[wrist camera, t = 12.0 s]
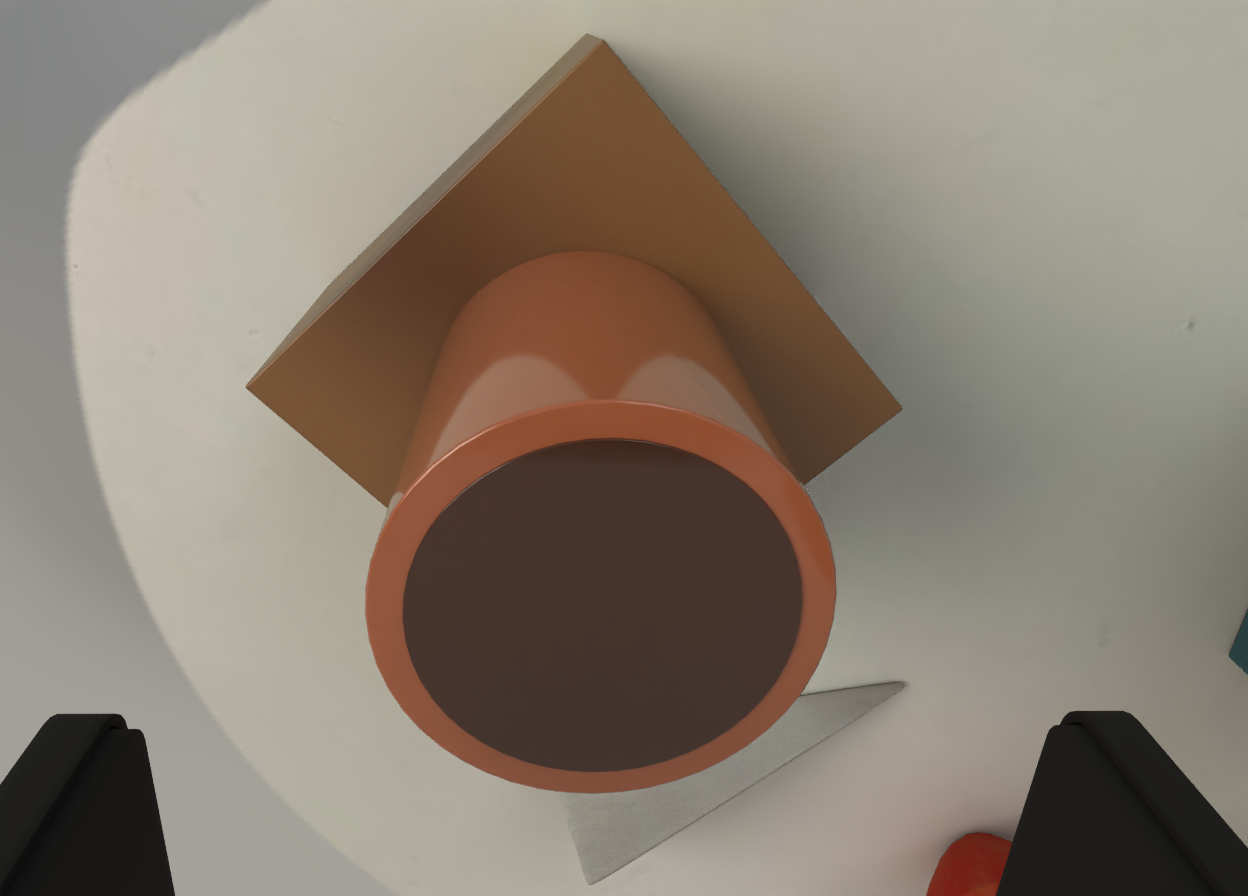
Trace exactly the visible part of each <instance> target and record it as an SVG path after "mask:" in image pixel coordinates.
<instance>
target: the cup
mask: <svg viewBox="0 0 1248 896" xmlns="http://www.w3.org/2000/svg"><path fill="white" fill-rule="evenodd" d="M835 602H836V569H835V563H834V558H833V553H832V548H831V543H830V540H829V538H828V535H827V532H826V530H825V527H824V524H823V521H822V519H821V517H820V515H819V513H818V511H817V509H816V508H815V506H814V504H813V502H812V500H811V498H810V496H809V495H808V493H807V491H806V489H805V487H804V485H803V484H802V482H801V480H800V478H799V476H798V474H797V473H796V471H795V469H794V467H793V465H792V463H791V461H790V460H789V458H788V456H787V454H786V452H785V450H784V449H783V447H782V445H781V443H780V441H779V439H778V438H777V436H776V434H775V432H774V430H773V428H772V426H771V425H770V423H769V421H768V419H767V417H766V415H765V414H764V412H763V410H762V408H761V406H760V404H759V403H758V401H757V399H756V397H755V395H754V393H753V391H752V390H751V388H750V386H749V384H748V382H747V380H746V379H745V377H744V375H743V373H742V371H741V369H740V367H739V366H738V364H737V362H736V360H735V358H734V356H733V355H732V353H731V351H730V349H729V347H728V345H727V344H726V342H725V340H724V338H723V336H722V334H721V333H720V331H719V329H718V327H717V325H716V324H715V322H714V320H713V318H712V317H711V315H710V314H709V313H708V311H707V310H706V309H705V307H704V306H703V305H702V303H701V302H700V301H699V300H698V299H697V298H696V297H695V296H694V295H693V294H692V293H691V292H690V291H689V290H688V289H687V288H686V287H685V286H683V285H682V284H681V283H679V282H678V281H677V280H675V279H674V278H673V277H671V276H670V275H668V274H666V273H665V272H663V271H661V270H659V269H657V268H656V267H654V266H652V265H649V264H647V263H644V262H642V261H639V260H637V259H634V258H631V257H627V256H623V255H619V254H615V253H607V252H598V251H570V252H563V253H556V254H550V255H547V256H543V257H540V258H536V259H533V260H530V261H527V262H525V263H523V264H520V265H518V266H516V267H513V268H511V269H510V270H508V271H506V272H505V273H503V274H501V275H500V276H498V277H496V278H495V279H493V280H492V281H491V282H490V283H488V284H487V285H486V286H485V287H483V288H482V289H481V290H480V291H478V292H477V293H476V294H475V295H474V297H473V298H472V299H471V300H470V301H469V302H468V303H467V304H466V305H465V306H464V307H463V309H462V310H461V312H460V313H459V314H458V316H457V317H456V319H455V320H454V322H453V323H452V325H451V327H450V329H449V331H448V333H447V335H446V337H445V339H444V341H443V344H442V347H441V350H440V352H439V355H438V358H437V361H436V364H435V367H434V370H433V373H432V376H431V379H430V382H429V385H428V388H427V391H426V394H425V397H424V401H423V404H422V407H421V410H420V413H419V416H418V419H417V422H416V425H415V428H414V431H413V434H412V437H411V440H410V443H409V446H408V449H407V452H406V455H405V458H404V461H403V464H402V467H401V470H400V473H399V476H398V479H397V482H396V485H395V488H394V491H393V494H392V497H391V500H390V503H389V506H388V509H387V512H386V515H385V518H384V521H383V524H382V527H381V530H380V533H379V537H378V540H377V543H376V546H375V549H374V552H373V555H372V558H371V561H370V566H369V572H368V577H367V583H366V598H365V616H366V623H367V630H368V637H369V641H370V645H371V648H372V651H373V654H374V658H375V661H376V664H377V666H378V668H379V671H380V673H381V675H382V677H383V679H384V681H385V683H386V685H387V687H388V689H389V690H390V692H391V693H392V695H393V696H394V698H395V699H396V701H397V702H398V704H399V705H400V707H401V708H402V710H403V711H404V712H405V713H406V714H407V715H408V716H409V717H410V718H411V720H412V721H413V722H414V723H415V724H416V725H417V726H418V727H419V728H420V729H421V730H422V731H423V732H424V733H425V734H426V735H428V736H429V737H430V738H431V739H432V740H434V741H435V742H436V743H437V744H438V745H439V746H441V747H442V748H444V749H445V750H447V751H448V752H450V753H451V754H453V755H454V756H456V757H457V758H459V759H461V760H462V761H464V762H466V763H468V764H470V765H472V766H474V767H476V768H478V769H480V770H482V771H484V772H486V773H489V774H491V775H494V776H497V777H499V778H502V779H505V780H508V781H510V782H514V783H518V784H522V785H526V786H530V787H534V788H538V789H544V790H551V791H558V792H565V793H586V794H598V793H616V792H626V791H632V790H639V789H645V788H650V787H654V786H658V785H662V784H666V783H670V782H674V781H677V780H679V779H682V778H685V777H688V776H690V775H693V774H696V773H699V772H701V771H703V770H705V769H707V768H709V767H711V766H713V765H716V764H718V763H720V762H722V761H724V760H726V759H727V758H729V757H730V756H732V755H734V754H735V753H737V752H738V751H740V750H742V749H743V748H745V747H746V746H748V745H749V744H751V743H752V742H753V741H754V740H756V739H757V738H758V737H759V736H761V735H762V734H763V733H765V732H766V731H767V730H768V729H769V728H770V727H771V726H772V725H773V724H774V723H776V722H777V721H778V720H779V719H780V718H781V717H782V716H783V715H784V714H785V713H786V712H787V711H788V709H789V708H790V707H791V706H792V704H793V703H794V702H795V700H796V699H797V698H798V697H799V695H800V694H801V693H802V692H803V690H804V689H805V687H806V685H807V684H808V682H809V680H810V679H811V677H812V675H813V674H814V672H815V670H816V669H817V666H818V664H819V662H820V659H821V657H822V655H823V652H824V650H825V648H826V645H827V642H828V638H829V635H830V631H831V627H832V623H833V619H834V611H835Z"/></svg>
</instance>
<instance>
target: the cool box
mask: <svg viewBox="0 0 1248 896" xmlns="http://www.w3.org/2000/svg"><path fill="white" fill-rule="evenodd" d="M1229 657H1230V658H1231V659H1232V660H1233V661H1234V662H1235V663H1236V664H1237V665H1238V666H1239V667H1240V668H1242V669H1243V671H1244V672H1245V673H1246V674H1247V675H1248V611H1247V613H1246V616H1245V618H1244V620H1243V623H1242V625H1241V628H1240V630H1239V632H1238V635H1237V637H1236V640H1235V642H1234V644H1233V647H1232V649H1231V652H1230V654H1229Z"/></svg>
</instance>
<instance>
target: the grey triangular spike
mask: <svg viewBox="0 0 1248 896" xmlns="http://www.w3.org/2000/svg"><path fill="white" fill-rule="evenodd" d="M904 686H905V685H904V684H903V683H900V682H897V683H888V684H880V685H872V686H865V687H858V688H851V689H844V690H837V691H830V692H823V693H816V694H810V695H803V696H799V697H798V698H797V699H796V700H795V702H794V703H793V704H792V706H791V707H790V708H789V709H788V711H787V712H786V713H785V714H784V715H783V716H782V717H781V718H780V719H779V720H778V721H777V722H776V723H774V724H773V725H772V726H771V727H770V728H769V729H768V730H767V731H766V732H765V733H763V734H762V735H761V736H759V737H758V738H757V739H756V740H754V741H753V742H752V743H751V744H749V745H748V746H746V747H745V748H743V749H742V750H740V751H738V752H737V753H735V754H734V755H732V756H730V757H729V758H727V759H726V760H724V761H722V762H720V763H718V764H716V765H713V766H711V767H709V768H707V769H705V770H703V771H701V772H699V773H696V774H693V775H690V776H688V777H685V778H682V779H679V780H677V781H674V782H670V783H666V784H662V785H658V786H654V787H650V788H645V789H639V790H632V791H626V792H616V793H598V794H586V793H565V792H559V795H560V798H561V801H562V804H563V807H564V811H565V814H566V817H567V820H568V824H569V827H570V830H571V833H572V837H573V840H574V843H575V846H576V850H577V853H578V856H579V859H580V862H581V866H582V869H583V872H584V875H585V878H586V881H587V883H588V884H589V885H592V884H594V883H597V882H598V881H600V880H602V879H604V878H606V877H607V876H609V875H611V874H612V873H614V872H616V871H617V870H619V869H621V868H622V867H624V866H625V865H627V864H629V863H630V862H632V861H633V860H635V859H637V858H638V857H640V856H642V855H643V854H645V853H646V852H648V851H650V850H651V849H653V848H654V847H656V846H657V845H659V844H661V843H662V842H664V841H665V840H667V839H669V838H670V837H672V836H673V835H675V834H676V833H678V832H680V831H681V830H683V829H684V828H686V827H688V826H689V825H691V824H692V823H694V822H695V821H697V820H699V819H700V818H702V817H703V816H705V815H706V814H708V813H710V812H711V811H713V810H714V809H716V808H718V807H719V806H721V805H722V804H724V803H725V802H727V801H729V800H730V799H732V798H733V797H735V796H736V795H738V794H740V793H741V792H743V791H744V790H746V789H747V788H749V787H751V786H752V785H754V784H755V783H757V782H758V781H760V780H762V779H763V778H765V777H766V776H768V775H769V774H771V773H773V772H774V771H776V770H777V769H779V768H780V767H782V766H784V765H785V764H787V763H788V762H790V761H791V760H793V759H795V758H796V757H798V756H799V755H801V754H802V753H804V752H806V751H807V750H809V749H810V748H812V747H813V746H815V745H817V744H818V743H820V742H821V741H823V740H824V739H826V738H827V737H829V736H831V735H832V734H834V733H835V732H837V731H838V730H840V729H842V728H843V727H845V726H846V725H848V724H849V723H851V722H852V721H854V720H856V719H857V718H859V717H860V716H862V715H863V714H865V713H866V712H868V711H870V710H871V709H873V708H874V707H876V706H877V705H879V704H880V703H882V702H883V701H885V700H886V699H888V698H889V697H891V696H892V695H894V694H895V693H897V692H898V691H900V690H901V689H902V688H903V687H904Z"/></svg>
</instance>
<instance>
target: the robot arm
mask: <svg viewBox="0 0 1248 896" xmlns="http://www.w3.org/2000/svg"><path fill="white" fill-rule="evenodd" d="M0 896H175V893H174V887H173V882H172V877H171V872H170V867H169V861H168V856H167V851H166V846H165V840H164V835H163V830H162V825H161V820H160V814H159V809H158V804H157V799H156V793H155V788H154V784H153V778H152V773H151V767H150V762H149V757H148V752H147V746H146V741H145V738H144V735H143V733H142V732H141V730H139V729H128V728H127V725H126V722H125V719H124V718H123V717H122V716H121V715H119V714H56V715H54V716H52V717H50V718H49V719H48V720H47V721H46V722H45V724H44V725H43V726H42V727H41V729H40V730H39V731H38V733H37V734H36V736H35V737H34V738H33V740H32V741H31V743H30V744H29V745H28V747H27V748H26V750H25V751H24V752H23V754H22V755H21V756H20V758H19V759H18V761H17V762H16V764H15V765H14V766H13V768H12V769H11V770H10V772H9V773H8V775H7V776H6V777H5V779H4V780H3V782H2V783H1V784H0ZM995 896H1248V848H1247V847H1246V846H1245V844H1244V843H1243V842H1242V841H1241V840H1240V839H1239V837H1238V836H1237V835H1236V834H1235V833H1234V832H1233V830H1232V829H1231V828H1230V827H1229V826H1228V825H1227V823H1226V822H1225V821H1224V820H1223V819H1222V818H1221V816H1220V815H1219V814H1218V813H1217V812H1216V811H1215V809H1214V808H1213V807H1212V806H1211V805H1210V804H1209V802H1208V801H1207V800H1206V799H1205V798H1204V797H1203V795H1202V794H1201V793H1200V792H1199V791H1198V790H1197V788H1196V787H1195V786H1194V785H1193V784H1192V783H1191V781H1190V780H1189V779H1188V778H1187V777H1186V776H1185V774H1184V773H1183V772H1182V771H1181V770H1180V769H1179V767H1178V766H1177V765H1176V764H1175V763H1174V762H1173V760H1172V759H1171V758H1170V757H1169V756H1168V755H1167V753H1166V752H1165V751H1164V750H1163V749H1162V748H1161V746H1160V745H1159V744H1158V743H1157V742H1156V741H1155V739H1154V738H1153V737H1152V736H1151V735H1150V734H1149V732H1148V731H1147V730H1146V729H1145V728H1144V727H1143V725H1142V724H1141V723H1140V722H1139V721H1138V720H1137V719H1136V718H1135V717H1134V716H1133V715H1131V714H1130V713H1127V712H1124V711H1073V712H1069V713H1068V714H1067V715H1066V716H1064V718H1063V720H1062V722H1061V724H1060V725H1055V726H1053V727H1052V728H1051V729H1050V730H1049V732H1048V734H1047V737H1046V740H1045V743H1044V746H1043V749H1042V752H1041V756H1040V759H1039V762H1038V765H1037V768H1036V771H1035V774H1034V777H1033V780H1032V784H1031V787H1030V790H1029V793H1028V796H1027V799H1026V802H1025V805H1024V808H1023V812H1022V815H1021V818H1020V821H1019V824H1018V827H1017V830H1016V833H1015V836H1014V839H1013V843H1012V846H1011V849H1010V852H1009V855H1008V858H1007V861H1006V864H1005V867H1004V871H1003V874H1002V877H1001V880H1000V883H999V886H998V889H997V892H996V895H995Z"/></svg>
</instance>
